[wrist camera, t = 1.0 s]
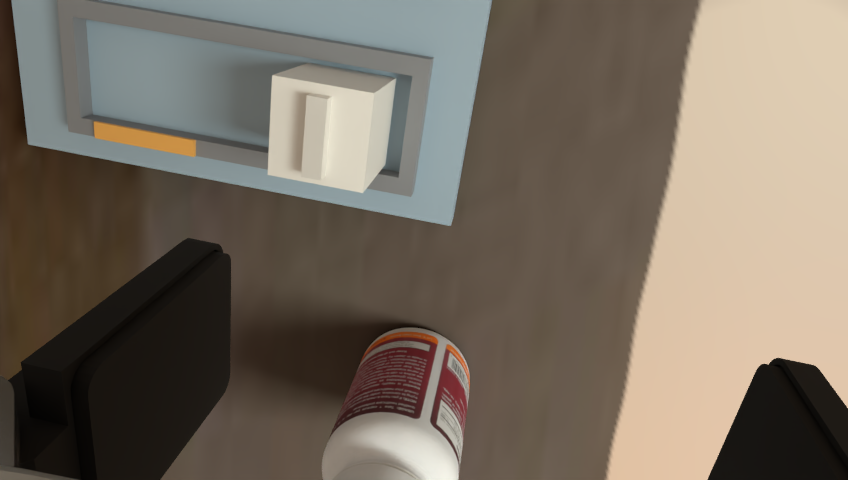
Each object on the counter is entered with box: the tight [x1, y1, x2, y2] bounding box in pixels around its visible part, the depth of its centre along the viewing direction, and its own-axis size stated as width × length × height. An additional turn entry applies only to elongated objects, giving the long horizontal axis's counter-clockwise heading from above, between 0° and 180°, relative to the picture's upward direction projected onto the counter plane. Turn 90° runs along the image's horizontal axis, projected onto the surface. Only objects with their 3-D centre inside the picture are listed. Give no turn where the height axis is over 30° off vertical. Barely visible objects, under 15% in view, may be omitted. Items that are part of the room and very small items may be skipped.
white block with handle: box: [268, 63, 396, 193], centre depth 26 cm, size 4×4×5 cm
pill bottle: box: [322, 327, 470, 480], centre depth 29 cm, size 6×6×11 cm
